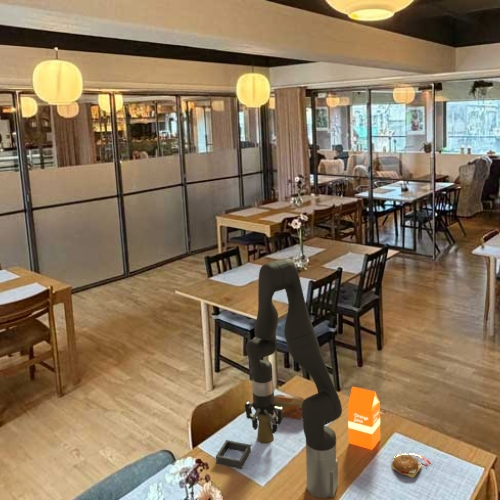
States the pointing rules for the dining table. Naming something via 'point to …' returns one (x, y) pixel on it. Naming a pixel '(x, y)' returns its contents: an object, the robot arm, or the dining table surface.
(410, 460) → the hamburger
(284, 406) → the tin
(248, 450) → the steel collar
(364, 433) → the orange juice
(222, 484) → the dining table surface
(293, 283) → the robot arm
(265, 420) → the cork
